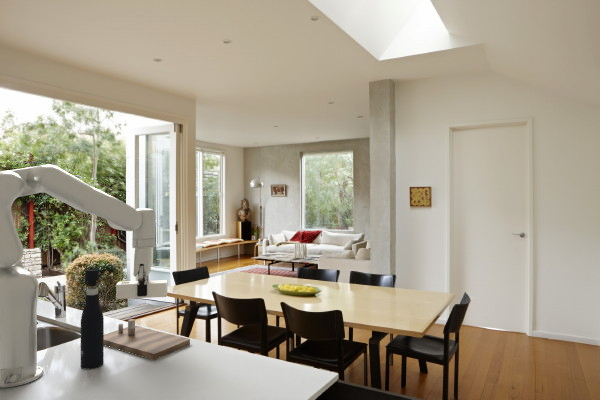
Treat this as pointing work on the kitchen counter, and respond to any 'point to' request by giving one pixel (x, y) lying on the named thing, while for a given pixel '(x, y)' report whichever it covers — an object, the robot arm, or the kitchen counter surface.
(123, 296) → the flange bar
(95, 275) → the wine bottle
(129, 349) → the board
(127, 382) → the kitchen counter surface
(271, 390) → the kitchen counter surface
